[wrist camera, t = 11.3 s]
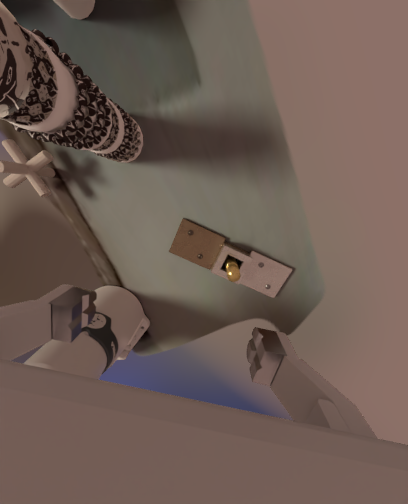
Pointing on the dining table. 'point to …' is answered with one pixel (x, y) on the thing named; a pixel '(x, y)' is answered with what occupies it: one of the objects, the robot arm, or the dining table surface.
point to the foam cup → (76, 7)
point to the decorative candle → (59, 97)
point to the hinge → (216, 250)
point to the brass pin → (232, 269)
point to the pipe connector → (26, 168)
